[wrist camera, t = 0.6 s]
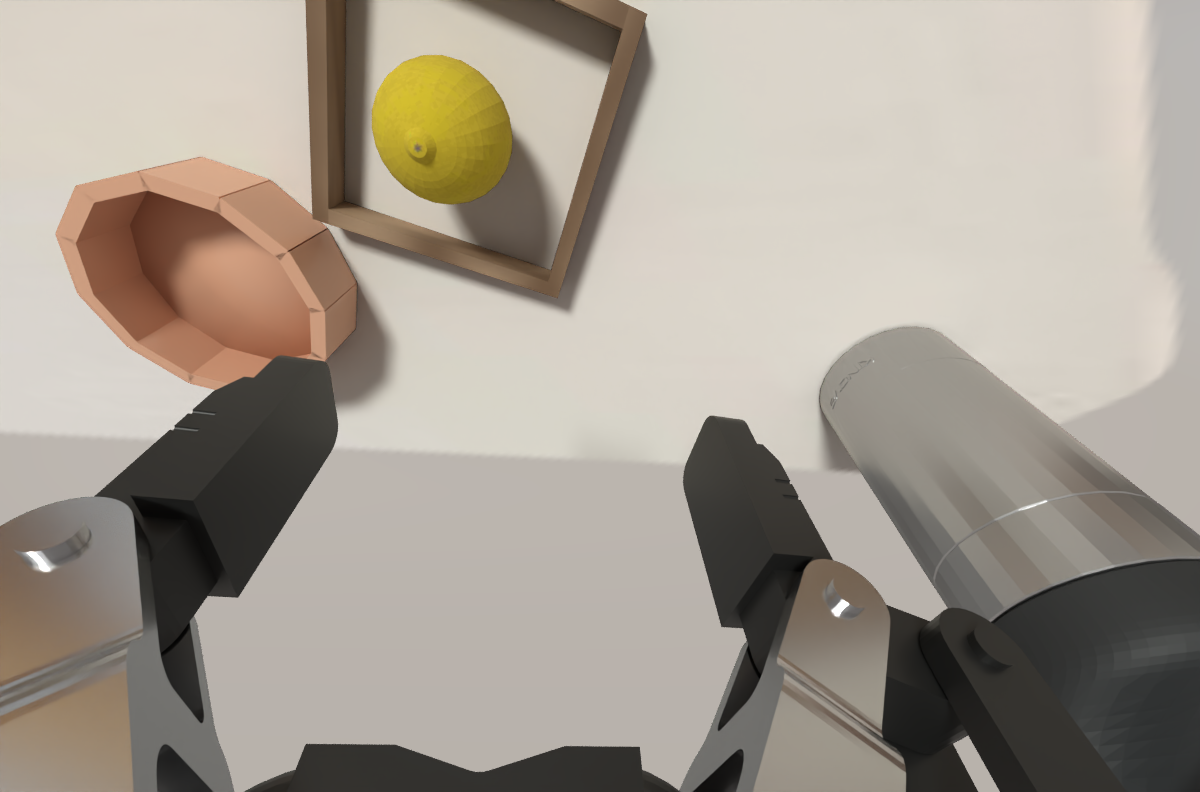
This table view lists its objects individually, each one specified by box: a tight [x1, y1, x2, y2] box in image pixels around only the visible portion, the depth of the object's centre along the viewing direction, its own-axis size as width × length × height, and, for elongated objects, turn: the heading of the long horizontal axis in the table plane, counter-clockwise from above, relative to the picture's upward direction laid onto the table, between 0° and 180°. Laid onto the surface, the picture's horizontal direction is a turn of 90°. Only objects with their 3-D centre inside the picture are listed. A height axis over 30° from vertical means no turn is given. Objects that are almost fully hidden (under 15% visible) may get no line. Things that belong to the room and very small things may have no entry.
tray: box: [306, 0, 647, 298], centre depth 22 cm, size 14×14×2 cm
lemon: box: [372, 55, 512, 204], centre depth 20 cm, size 6×6×8 cm
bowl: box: [56, 157, 357, 390], centre depth 26 cm, size 13×13×4 cm
